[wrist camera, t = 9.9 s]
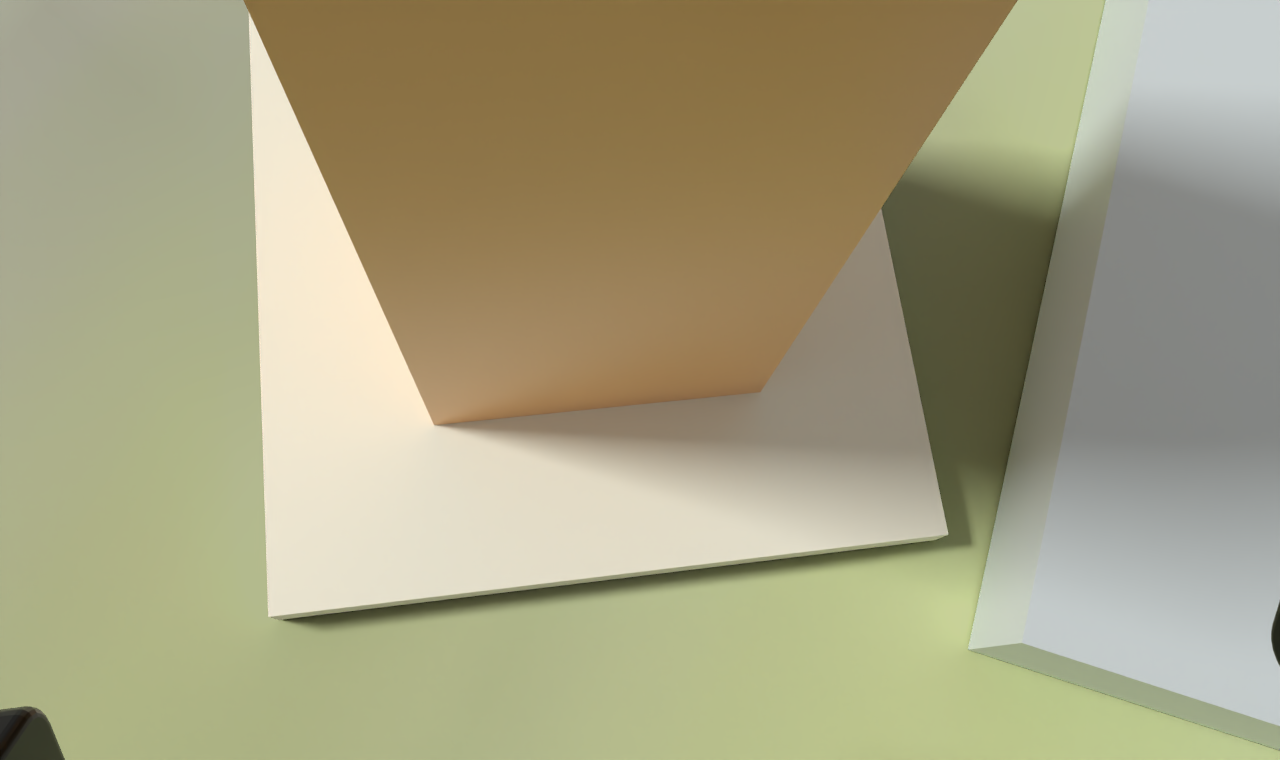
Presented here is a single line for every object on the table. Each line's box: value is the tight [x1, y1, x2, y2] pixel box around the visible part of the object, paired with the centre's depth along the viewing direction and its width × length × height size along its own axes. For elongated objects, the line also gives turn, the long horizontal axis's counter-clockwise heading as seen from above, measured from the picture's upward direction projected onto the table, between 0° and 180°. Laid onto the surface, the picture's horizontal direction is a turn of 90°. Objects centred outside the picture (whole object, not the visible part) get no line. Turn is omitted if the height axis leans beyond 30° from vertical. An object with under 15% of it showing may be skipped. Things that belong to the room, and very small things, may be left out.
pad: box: [249, 13, 948, 620], centre depth 17 cm, size 10×10×1 cm
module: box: [244, 0, 1017, 425], centre depth 11 cm, size 5×5×13 cm
